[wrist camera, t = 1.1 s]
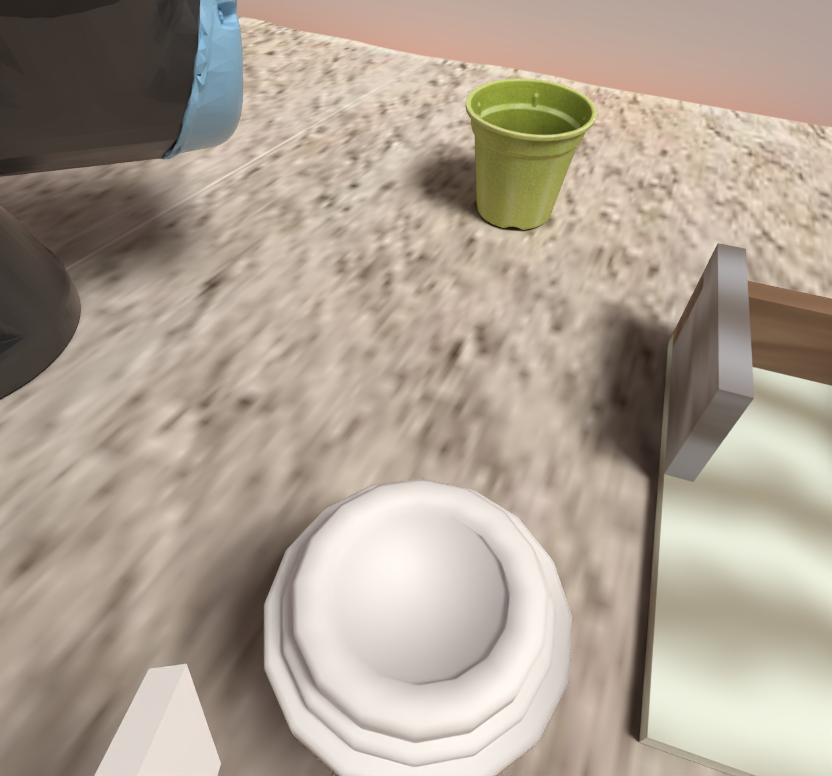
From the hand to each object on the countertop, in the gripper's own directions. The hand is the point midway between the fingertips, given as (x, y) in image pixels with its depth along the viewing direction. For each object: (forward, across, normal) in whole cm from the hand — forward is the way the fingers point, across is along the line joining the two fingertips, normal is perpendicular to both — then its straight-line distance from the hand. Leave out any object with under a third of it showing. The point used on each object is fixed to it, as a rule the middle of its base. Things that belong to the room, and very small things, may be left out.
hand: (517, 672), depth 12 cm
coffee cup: (+10, -4, -11) cm, 16 cm away
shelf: (+17, +17, -11) cm, 26 cm away
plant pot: (+42, +8, +6) cm, 43 cm away
